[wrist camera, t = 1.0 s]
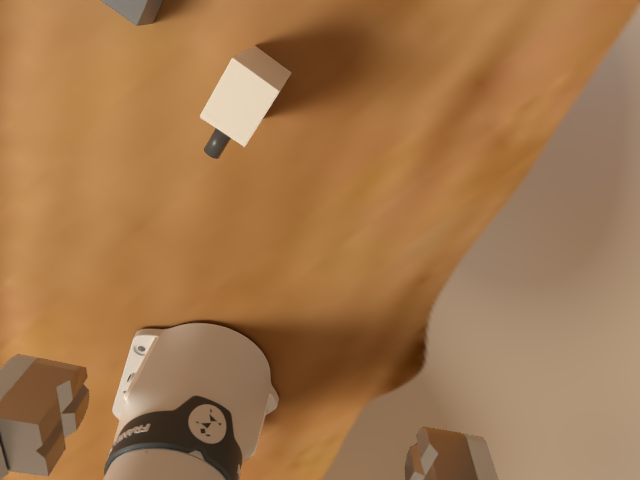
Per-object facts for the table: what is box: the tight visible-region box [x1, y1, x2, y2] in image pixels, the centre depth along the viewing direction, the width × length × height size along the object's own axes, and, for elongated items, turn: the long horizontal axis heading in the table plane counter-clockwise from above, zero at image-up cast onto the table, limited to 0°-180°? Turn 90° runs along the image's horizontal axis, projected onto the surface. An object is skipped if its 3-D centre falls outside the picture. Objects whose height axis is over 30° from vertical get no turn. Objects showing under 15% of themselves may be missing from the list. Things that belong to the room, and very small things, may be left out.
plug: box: [200, 45, 291, 159], centre depth 32 cm, size 7×4×8 cm, turn 145°
